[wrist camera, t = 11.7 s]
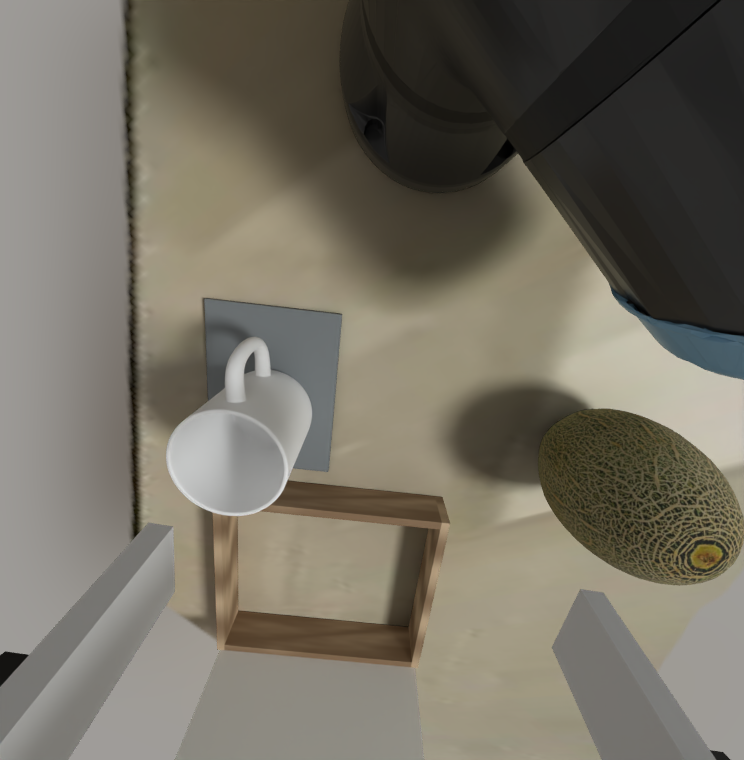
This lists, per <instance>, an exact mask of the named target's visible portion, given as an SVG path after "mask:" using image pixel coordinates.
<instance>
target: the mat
mask: <svg viewBox="0 0 744 760" xmlns="http://www.w3.org/2000/svg"><path fill="white" fill-rule="evenodd" d="M204 300H205V328H206V357H207V386H208V401H209V400H210V399H212V398H213V397H214V396H215V395H217V394H218V393H219V392H221V391H222V390H223V389H224V388H225V371H226V366H227V363H228V360H229V358H230V356H231V354H232V353H233V351H234V350H235V348H236V347H237V346H238V345H239V344H240V343H241V342H242V341H244V340H245V339H247V338H250V337H258V338H260V339H262V340H263V341H264V342H265V344H266V346H267V348H268V351H269V357H270V368H271V370H275V371H279V372H282V373H284V374H287V375H288V376H290V377H292V378H293V379H295V380H296V381H297V382H298V383H299V384H300V385H301V386H302V387H303V388H304V390H305V391H306V393H307V395H308V397H309V399H310V402H311V406H312V420H311V424H310V428H309V431H308V433H307V435H306V438H305V440H304V442H303V445H302V447H301V450H300V452H299V454H298V457H297V459H296V461H295V464H294V466H293V468H296V469H305V470H315V471H324V472H328V470H329V461H330V449H331V438H332V426H333V415H334V403H335V392H336V380H337V369H338V357H339V346H340V334H341V322H342V314H338V313H329V312H321V311H312V310H304V309H295V308H287V307H278V306H269V305H261V304H252V303H244V302H235V301H227V300H218V299H210V298H206V299H204ZM251 371H255V355H254V352H253V353H252V354H251V355H250V356H249V358H248V359H247V362H246V364H245V369H244V374H246V373H249V372H251Z"/></svg>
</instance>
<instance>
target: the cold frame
mask: <svg viewBox="0 0 744 760" xmlns="http://www.w3.org/2000/svg"><path fill="white" fill-rule="evenodd" d="M261 511H264V512H274V513H283V514H293V515H303V516H313V517H322V518H332V519H342V520H352V521H361V522H371V523H381V524H391V525H401V526H410V527H420V528H429V529H428V534H427V538H426V543H425V548H424V553H423V558H422V563H421V568H420V573H419V578H418V583H417V588H416V593H415V598H414V603H413V608H412V613H411V618H410V623H409V627H402V626H391V625H381V624H370V623H360V622H349V621H339V620H328V619H318V618H307V617H297V616H287V615H276V614H266V613H255V612H245V611H238V516H227V515H221V514H216V513H213V538H214V567H215V596H216V625H217V650H218V649H219V650H228V651H239V652H250V653H261V654H271V655H282V656H293V657H304V658H315V659H325V660H336V661H347V662H358V663H369V664H380V665H390V666H401V667H412V668H418V665H419V660H420V656H421V651H422V647H423V643H424V638H425V634H426V629H427V625H428V620H429V616H430V611H431V607H432V602H433V598H434V593H435V589H436V585H437V580H438V576H439V571H440V567H441V562H442V558H443V553H444V549H445V544H446V540H447V536H448V531H449V527H450V521H449V518H448V514H447V511H446V508H445V504H444V501H443V497H436V496H427V495H417V494H408V493H398V492H389V491H379V490H370V489H360V488H350V487H341V486H331V485H322V484H312V483H303V482H293V481H287V483H286V485H285V487H284V490H283V491H282V493H281V495H280V496H279V497H278V498H277V499H276V500H275V501H274V502H273V503H272V504H271V505H270V506H268V507H267V508H265V509H263V510H261Z"/></svg>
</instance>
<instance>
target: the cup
mask: <svg viewBox="0 0 744 760" xmlns="http://www.w3.org/2000/svg"><path fill="white" fill-rule="evenodd" d="M253 352H254V355H255V371H251V372H249V373H246V374H244V369H245V364H246V362H247V359H248V358H249V356H250V355H251V354H252V353H253ZM311 420H312V406H311V402H310V399H309V397H308V395H307V393H306V391H305V390H304V388H303V387H302V386H301V385H300V384H299V383H298V382H297V381H296V380H295V379H293V378H292V377H290V376H288V375H287V374H284V373H282V372H279V371H275V370H271V368H270V357H269V351H268V348H267V346H266V344H265V342H264V341H263V340H262V339H260V338H258V337H250V338H247V339H245V340H244V341H242V342H241V343H240V344H239V345H238V346H237V347H236V348H235V350H234V351H233V353H232V354H231V356H230V358H229V360H228V363H227V366H226V371H225V388H224V389H223V390H222V391H221V392H219V393H218V394H217V395H215V396H214V397H213V398H212V399H210V400H209V401H208V402H206V403H205V404H204V405H203V406H201V407H200V408H199V409H197V410H196V411H195V412H194V413H192V414H191V415H190V416H188V417H187V418H186V419H185V420H183V421H182V422H181V423H180V424H179V425H178V426H177V427H176V428H175V430H174V431H173V433H172V434H171V436H170V438H169V441H168V444H167V450H166V462H167V467H168V471H169V473H170V476H171V478H172V480H173V482H174V483H175V485H176V486H177V488H178V489H179V490H180V491H181V493H182V494H183V495H184V496H185V497H187V498H188V499H189V500H190V501H191V502H193V503H194V504H196V505H197V506H199V507H201V508H203V509H205V510H207V511H210V512H213V513H216V514H221V515H227V516H243V515H249V514H253V513H256V512H259V511H261V510H263V509H265V508H267V507H268V506H270V505H271V504H272V503H273V502H274V501H275V500H276V499H277V498H278V497H279V496H280V495H281V493H282V491H283V490H284V487H285V485H286V483H287V480H288V478H289V476H290V473H291V471H292V469H293V466H294V464H295V461H296V459H297V457H298V454H299V452H300V450H301V447H302V445H303V442H304V440H305V438H306V435H307V433H308V431H309V428H310V424H311Z"/></svg>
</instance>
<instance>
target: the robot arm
mask: <svg viewBox="0 0 744 760" xmlns="http://www.w3.org/2000/svg"><path fill="white" fill-rule="evenodd" d="M340 78H341V85H342V92H343V97H344V102H345V107H346V111H347V115H348V119H349V121H350V124H351V127H352V129H353V132H354V134H355V136H356V138H357V140H358V142H359V144H360V145H361V147H362V149H363V150H364V152H365V153H366V154H367V156H368V157H369V158H370V160H371V161H372V162H373V163H374V164H375V165H376V166H377V167H378V168H379V169H380V170H381V171H382V172H383V173H385V174H386V175H387V176H389V177H390V178H392V179H393V180H395V181H396V182H398V183H400V184H402V185H404V186H407V187H409V188H412V189H415V190H419V191H424V192H432V193H444V192H453V191H458V190H462V189H465V188H468V187H471V186H473V185H475V184H478V183H480V182H482V181H483V180H485V179H487V178H488V177H490V176H491V175H493V174H494V173H496V172H497V171H498V170H499V169H501V168H502V167H503V166H504V165H505V164H507V163H508V162H509V161H510V160H511V159H512V158H513V157H515V156H516V155H517V154H519V155H520V156H521V158H522V159H523V162H524V164H525V165H526V166H527V168H528V169H529V171H530V172H531V173H532V175H533V176H534V177H535V179H536V180H537V181H538V183H539V184H540V186H541V187H542V188H543V190H544V191H545V193H546V194H547V195H548V197H549V198H550V200H551V201H552V202H553V204H554V205H555V207H556V208H557V210H558V211H559V212H560V214H561V215H562V217H563V218H564V220H565V221H566V222H567V224H568V225H569V227H570V228H571V229H572V231H573V232H574V234H575V235H576V237H577V238H578V239H579V241H580V242H581V244H582V245H583V246H584V248H585V249H586V251H587V252H588V254H589V255H590V256H591V258H592V259H593V261H594V262H595V264H596V265H597V266H598V268H599V269H600V271H601V272H602V273H603V275H604V276H605V278H606V279H607V281H608V282H609V285H610V287H611V291H612V294H613V296H614V297H615V299H616V300H617V301H618V302H619V304H620V305H621V306H622V307H624V308H625V309H626V310H627V311H628V312H630V313H632V314H633V315H635V316H637V317H638V319H639V320H640V321H641V322H642V324H643V325H644V326H645V327H646V328H647V330H648V331H649V332H650V333H651V334H652V336H653V337H654V338H655V339H656V340H657V341H658V342H659V344H660V345H662V346H663V347H664V348H665V349H666V350H668V351H669V352H671V353H672V354H674V355H675V356H676V357H678V358H680V359H683V360H686V361H689V362H691V363H693V364H695V365H697V366H699V367H701V368H703V369H705V370H708V371H711V372H714V373H717V374H720V375H724V376H728V377H733V378H738V379H742V380H744V0H349V3H348V6H347V10H346V13H345V17H344V22H343V27H342V34H341V43H340ZM174 592H175V577H174V536H173V526H167V525H160V524H154V523H148V524H147V525H146V526H145V527H144V528H143V529H142V531H141V532H140V533H139V534H138V535H137V536H136V537H135V538H134V539H133V541H132V542H131V543H130V544H129V545H128V546H127V547H126V549H124V551H123V552H122V553H121V554H120V555H119V556H118V557H117V558H116V559H115V560H114V562H113V563H112V564H111V565H110V566H109V567H108V568H107V569H106V571H105V572H104V573H103V574H102V575H101V576H100V577H99V578H98V579H97V580H96V581H95V583H94V584H93V585H92V586H91V587H90V588H89V589H88V590H87V592H86V593H85V594H84V595H83V596H82V597H81V598H80V599H79V601H77V603H76V604H75V605H74V606H73V607H72V608H71V609H70V610H69V611H68V612H67V614H66V615H65V616H64V617H63V618H62V619H61V620H60V621H59V623H58V624H57V625H56V626H55V627H54V628H53V629H52V630H51V631H50V632H49V634H48V635H47V636H46V637H45V638H44V639H43V640H42V641H41V642H40V644H39V645H38V646H37V647H36V648H35V649H34V650H33V652H32V653H31V654H30V655H26V654H19V653H12V652H4V653H3V654H1V655H0V760H68V759H69V757H70V756H71V754H72V753H73V751H74V750H75V748H76V747H77V745H78V744H79V742H80V740H81V739H82V737H83V736H84V734H85V732H86V731H87V729H88V728H89V726H90V725H91V723H92V721H93V720H94V718H95V716H96V715H97V714H98V712H99V710H100V709H101V707H102V706H103V704H104V702H105V701H106V699H107V698H108V696H109V695H110V693H111V691H112V690H113V688H114V687H115V685H116V683H117V682H118V680H119V679H120V677H121V676H122V674H123V672H124V671H125V669H126V668H127V666H128V665H129V663H130V661H131V660H132V658H133V657H134V655H135V653H136V652H137V650H138V649H139V647H140V646H141V644H142V642H143V641H144V639H145V638H146V636H147V635H148V633H149V631H150V630H151V628H152V627H153V625H154V624H155V622H156V620H157V619H158V617H159V616H160V614H161V612H162V611H163V609H164V608H165V606H166V605H167V603H168V601H169V600H170V598H171V597H172V595H173V594H174ZM552 649H553V651H554V653H555V656H556V658H557V660H558V662H559V665H560V667H561V669H562V671H563V674H564V676H565V678H566V680H567V683H568V685H569V687H570V689H571V692H572V694H573V696H574V698H575V701H576V703H577V705H578V707H579V710H580V712H581V714H582V716H583V719H584V721H585V723H586V725H587V728H588V730H589V732H590V734H591V737H592V739H593V741H594V743H595V746H596V748H597V750H598V752H599V755H600V757H601V759H602V760H730V759H729V758H728V757H727V756H726V755H725V754H724V753H723V752H718V751H711V750H709V748H708V747H707V745H706V744H705V742H704V741H703V740H702V738H701V736H700V735H699V734H698V732H697V731H696V729H695V728H694V726H693V725H692V723H691V722H690V720H689V719H688V717H687V716H686V714H685V713H684V711H683V710H682V708H681V707H680V706H679V704H678V702H677V701H676V700H675V698H674V696H673V695H672V694H671V692H670V691H669V689H668V688H667V686H666V685H665V683H664V682H663V680H662V679H661V677H660V676H659V674H658V673H657V671H656V670H655V668H654V667H653V665H652V664H651V662H650V661H649V659H648V658H647V657H646V655H645V654H644V652H643V651H642V649H641V648H640V646H639V645H638V643H637V642H636V640H635V639H634V637H633V636H632V634H631V633H630V631H629V630H628V628H627V627H626V625H625V624H624V622H623V621H622V620H621V618H620V617H619V615H618V614H617V612H616V611H615V609H614V608H613V606H612V605H611V603H610V602H609V600H608V599H607V597H606V596H605V594H604V593H602V592H596V591H589V590H583V589H580V591H579V593H578V595H577V597H576V599H575V601H574V603H573V605H572V607H571V609H570V611H569V613H568V615H567V618H566V620H565V622H564V624H563V626H562V628H561V630H560V632H559V634H558V636H557V638H556V640H555V642H554V644H553V646H552Z"/></svg>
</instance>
